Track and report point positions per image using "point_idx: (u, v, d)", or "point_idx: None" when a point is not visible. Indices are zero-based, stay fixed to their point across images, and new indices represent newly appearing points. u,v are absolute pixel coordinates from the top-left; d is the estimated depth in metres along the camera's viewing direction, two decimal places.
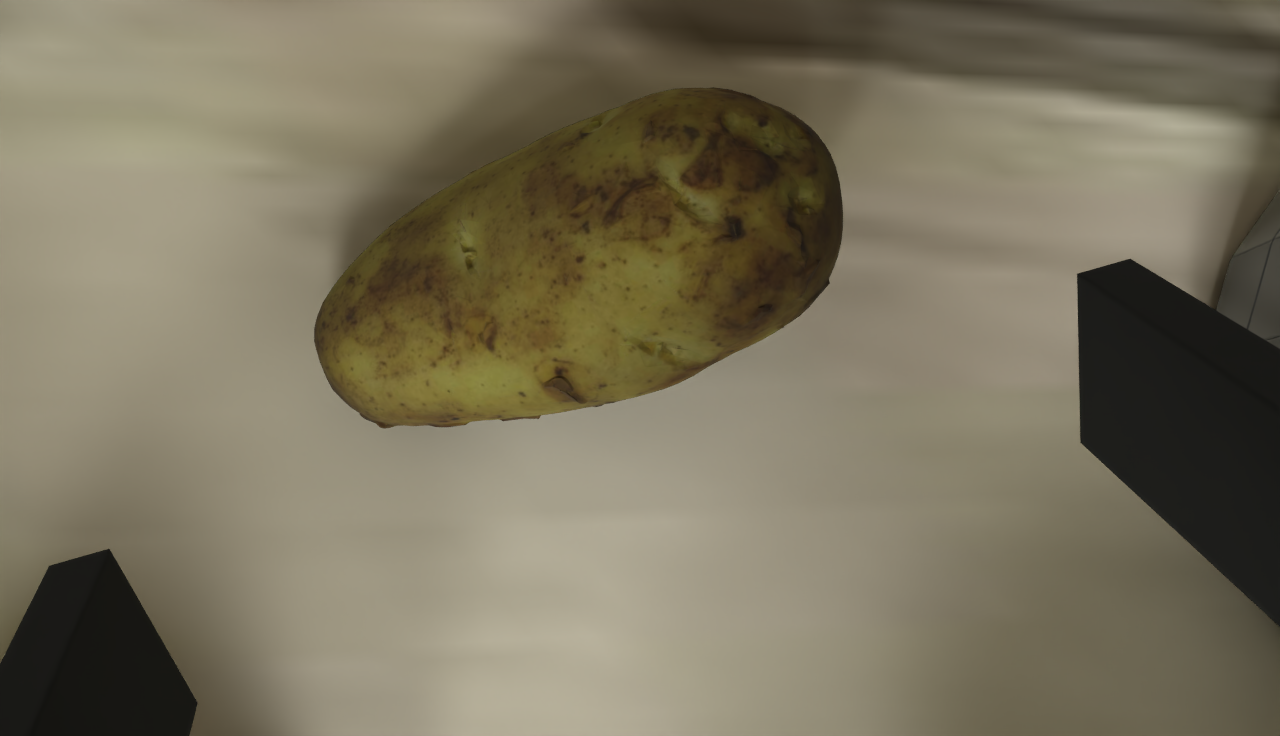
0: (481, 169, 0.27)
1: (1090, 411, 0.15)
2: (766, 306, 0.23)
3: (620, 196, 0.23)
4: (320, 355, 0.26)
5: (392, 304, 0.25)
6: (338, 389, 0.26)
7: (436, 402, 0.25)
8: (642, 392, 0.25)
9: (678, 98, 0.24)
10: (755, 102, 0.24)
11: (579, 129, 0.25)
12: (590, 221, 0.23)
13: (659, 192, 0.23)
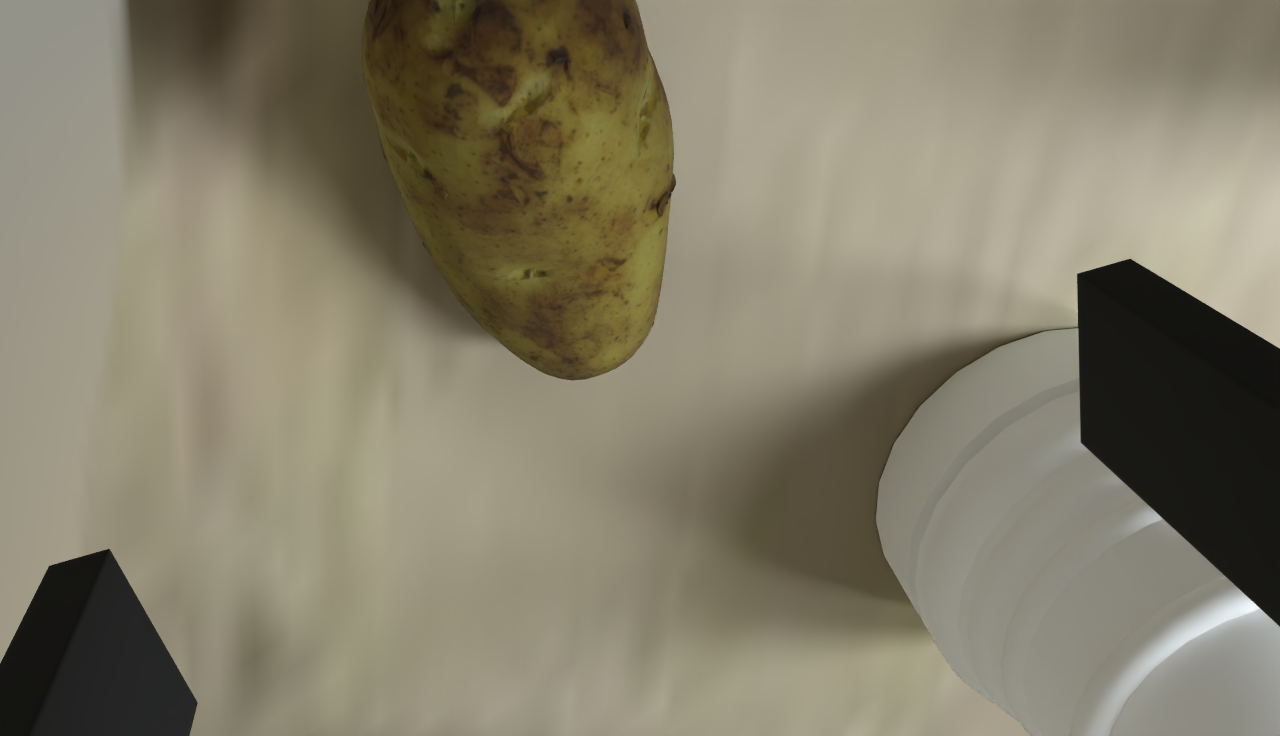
0: (430, 246, 0.28)
1: (1090, 412, 0.15)
2: (626, 19, 0.23)
3: (515, 162, 0.24)
4: (592, 376, 0.31)
5: (568, 332, 0.29)
6: (622, 363, 0.31)
7: (652, 295, 0.29)
8: (671, 124, 0.27)
9: (402, 89, 0.23)
10: (405, 6, 0.23)
11: (416, 174, 0.26)
12: (536, 190, 0.24)
13: (516, 128, 0.23)
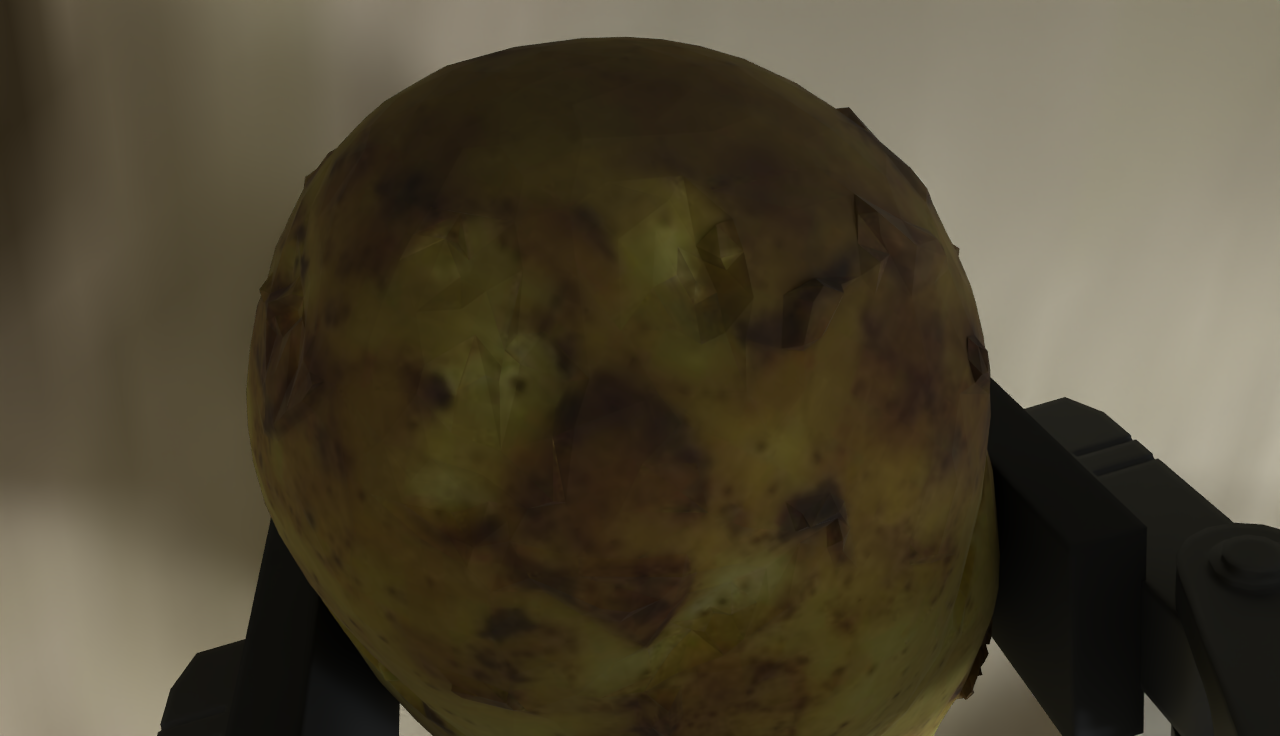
0: None
1: None
2: (976, 358, 0.08)
3: None
4: None
5: None
6: None
7: None
8: None
9: (354, 589, 0.08)
10: (347, 384, 0.08)
11: (405, 699, 0.10)
12: None
13: (684, 686, 0.08)
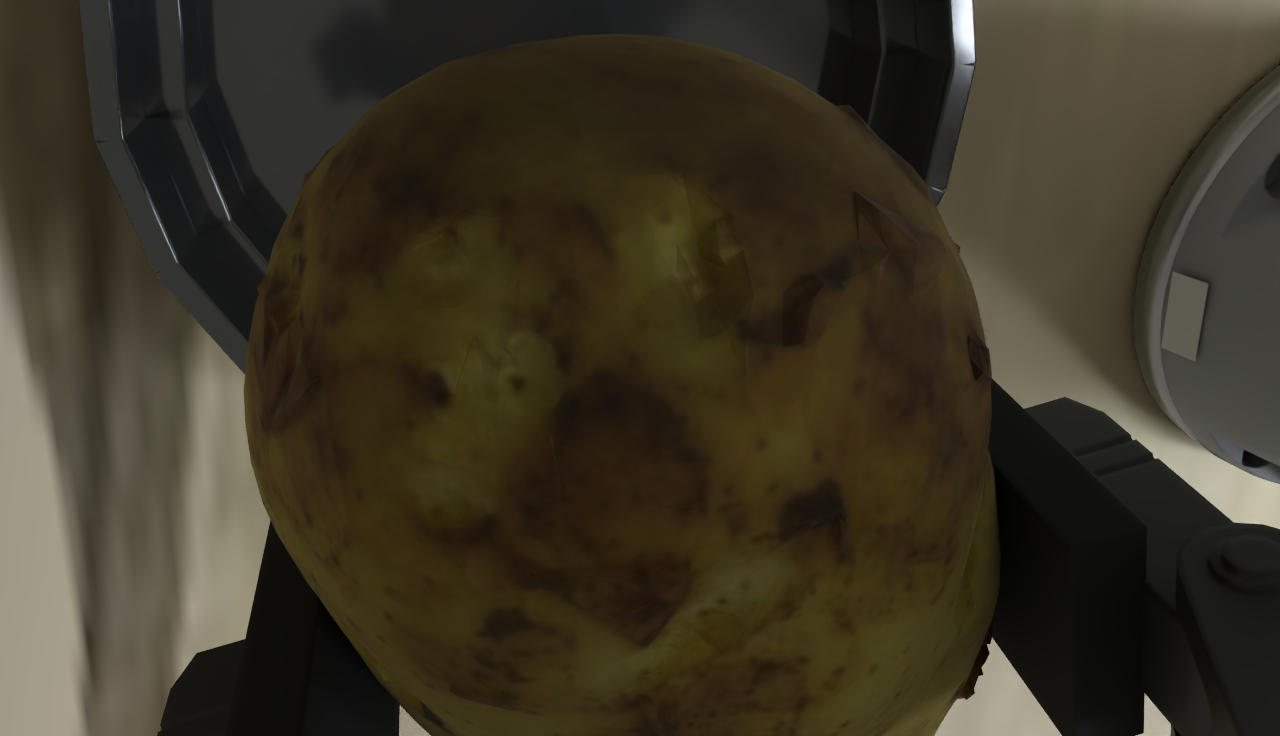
0: None
1: None
2: (978, 356, 0.08)
3: None
4: None
5: None
6: None
7: None
8: None
9: (352, 589, 0.08)
10: (345, 382, 0.08)
11: (403, 699, 0.10)
12: None
13: (683, 687, 0.08)
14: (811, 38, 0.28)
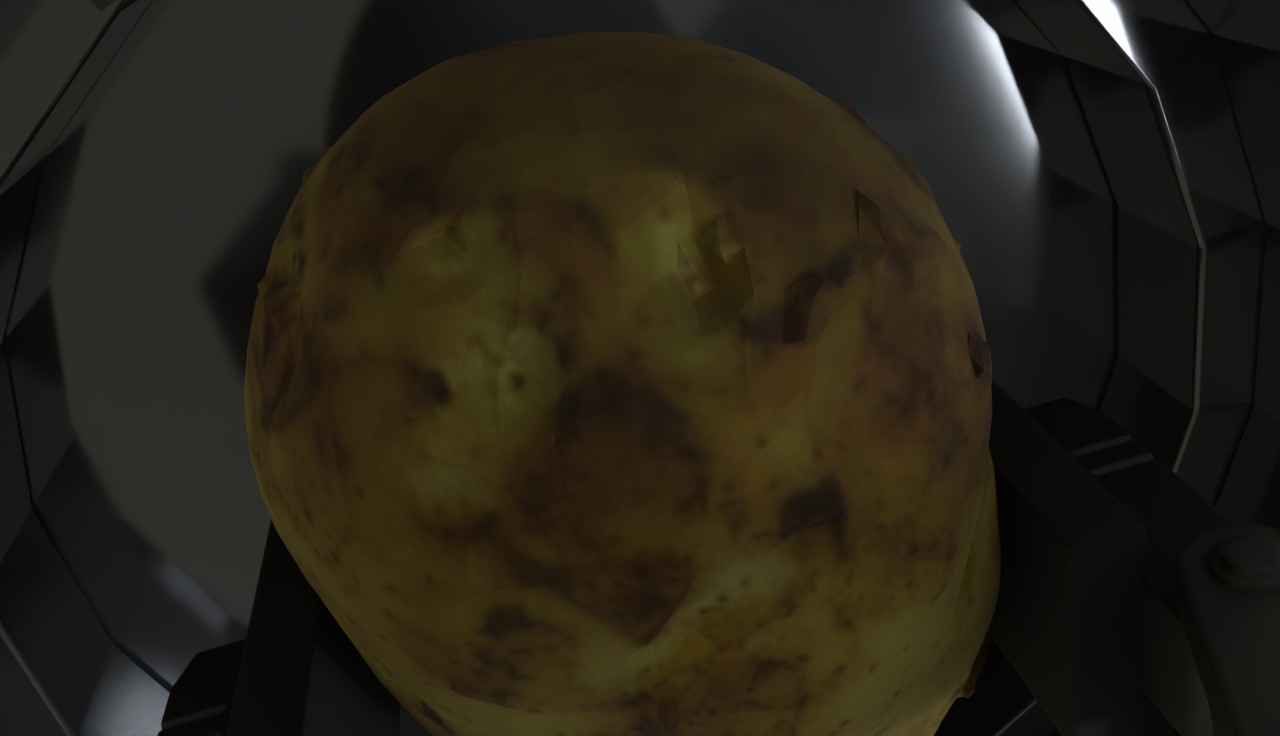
0: None
1: None
2: (977, 353, 0.08)
3: None
4: None
5: None
6: None
7: None
8: None
9: (352, 587, 0.08)
10: (345, 380, 0.08)
11: (403, 697, 0.10)
12: None
13: (684, 686, 0.08)
14: (1049, 355, 0.17)
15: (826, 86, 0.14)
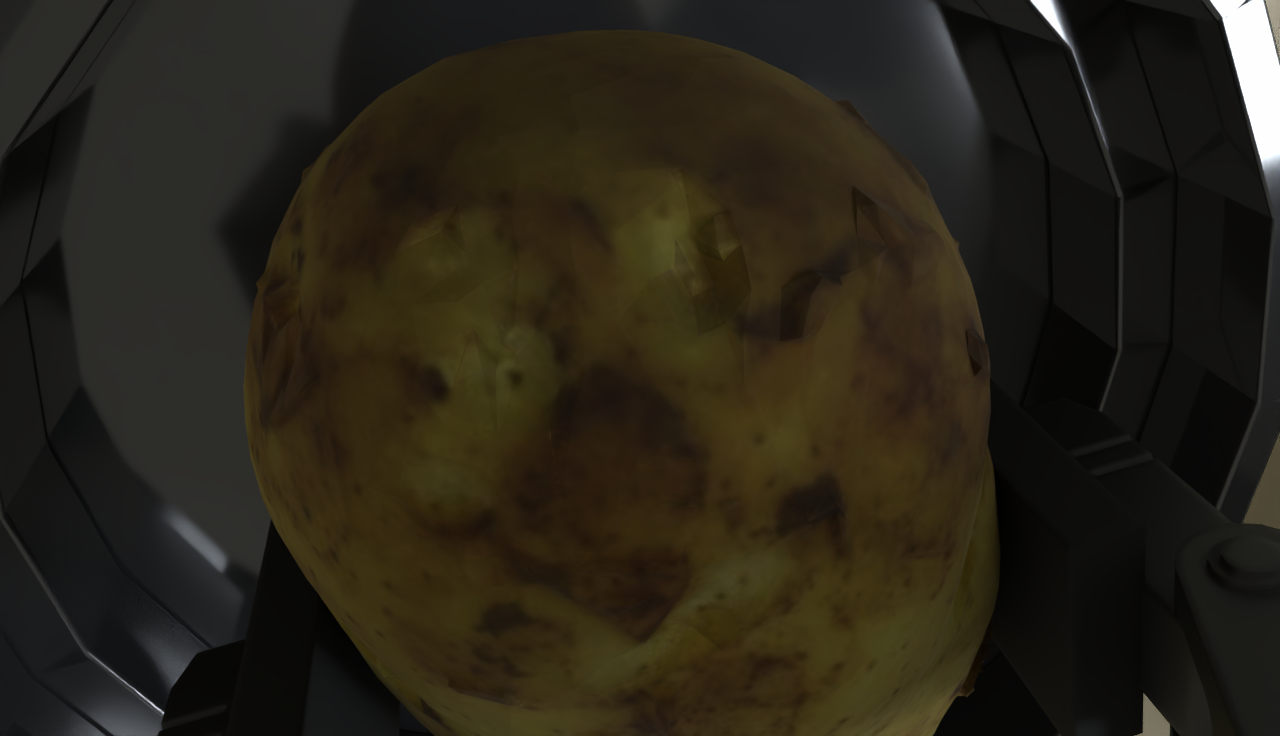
0: None
1: None
2: (975, 352, 0.08)
3: None
4: None
5: None
6: None
7: None
8: None
9: (350, 584, 0.08)
10: (343, 377, 0.08)
11: (402, 695, 0.10)
12: None
13: (680, 683, 0.08)
14: (989, 303, 0.18)
15: (776, 49, 0.16)
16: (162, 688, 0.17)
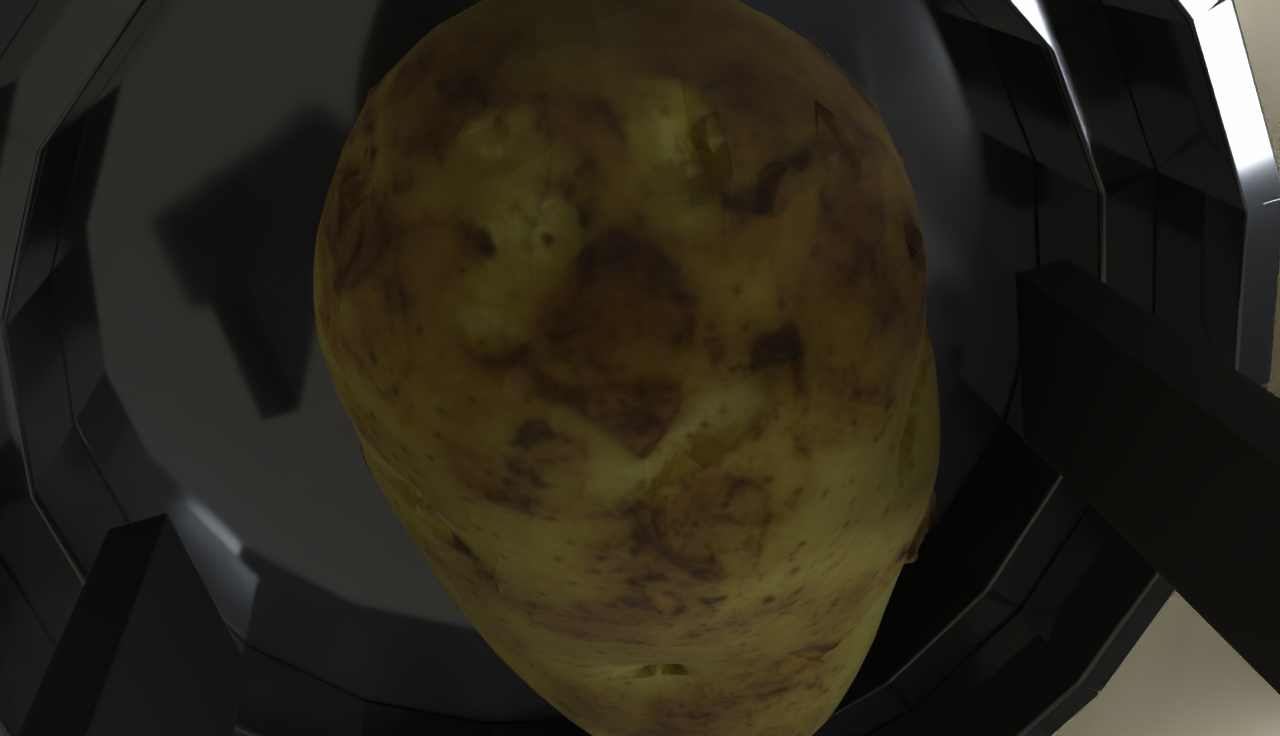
0: (459, 604, 0.15)
1: (1030, 407, 0.15)
2: (913, 239, 0.10)
3: (663, 556, 0.11)
4: None
5: None
6: None
7: (863, 660, 0.16)
8: None
9: (408, 414, 0.10)
10: (410, 239, 0.10)
11: (437, 536, 0.12)
12: (702, 596, 0.11)
13: (672, 497, 0.10)
14: (979, 296, 0.19)
15: None
16: None
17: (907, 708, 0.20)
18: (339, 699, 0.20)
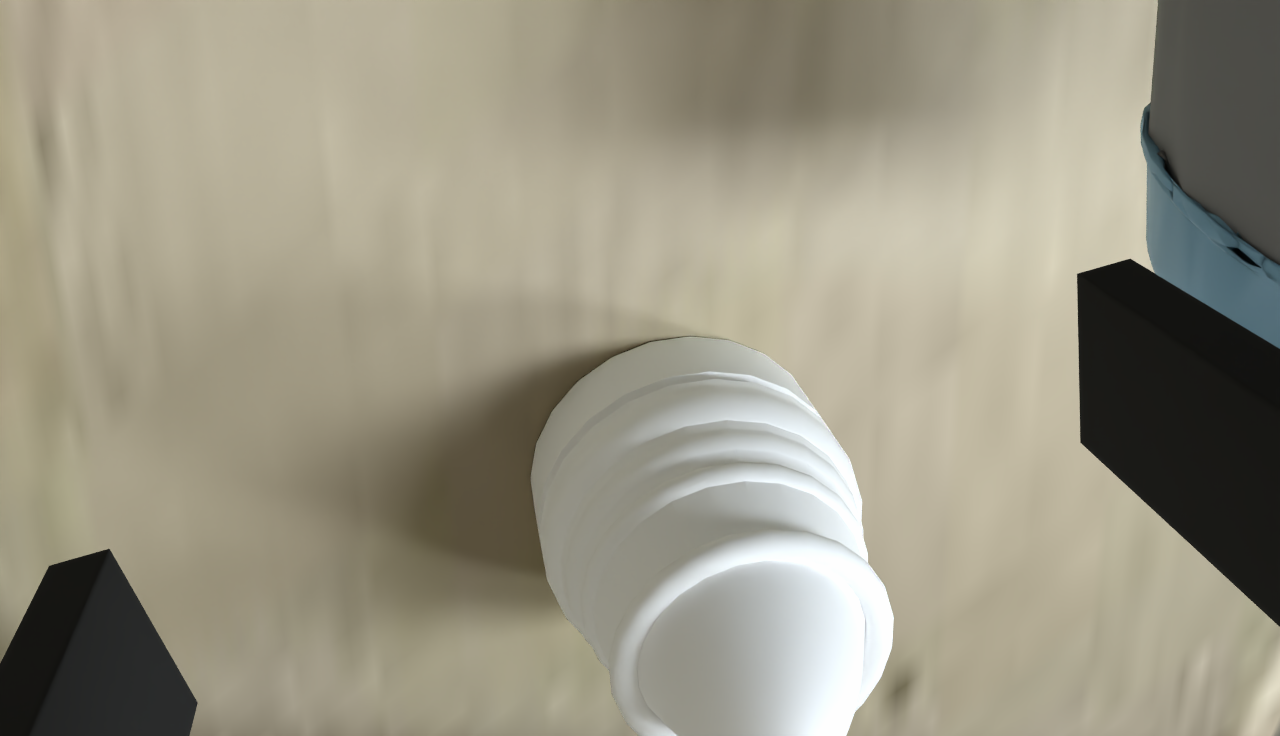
0: None
1: (1090, 412, 0.15)
2: None
3: None
4: None
5: None
6: None
7: None
8: None
9: None
10: None
11: None
12: None
13: None
14: None
15: None
16: None
17: None
18: None
